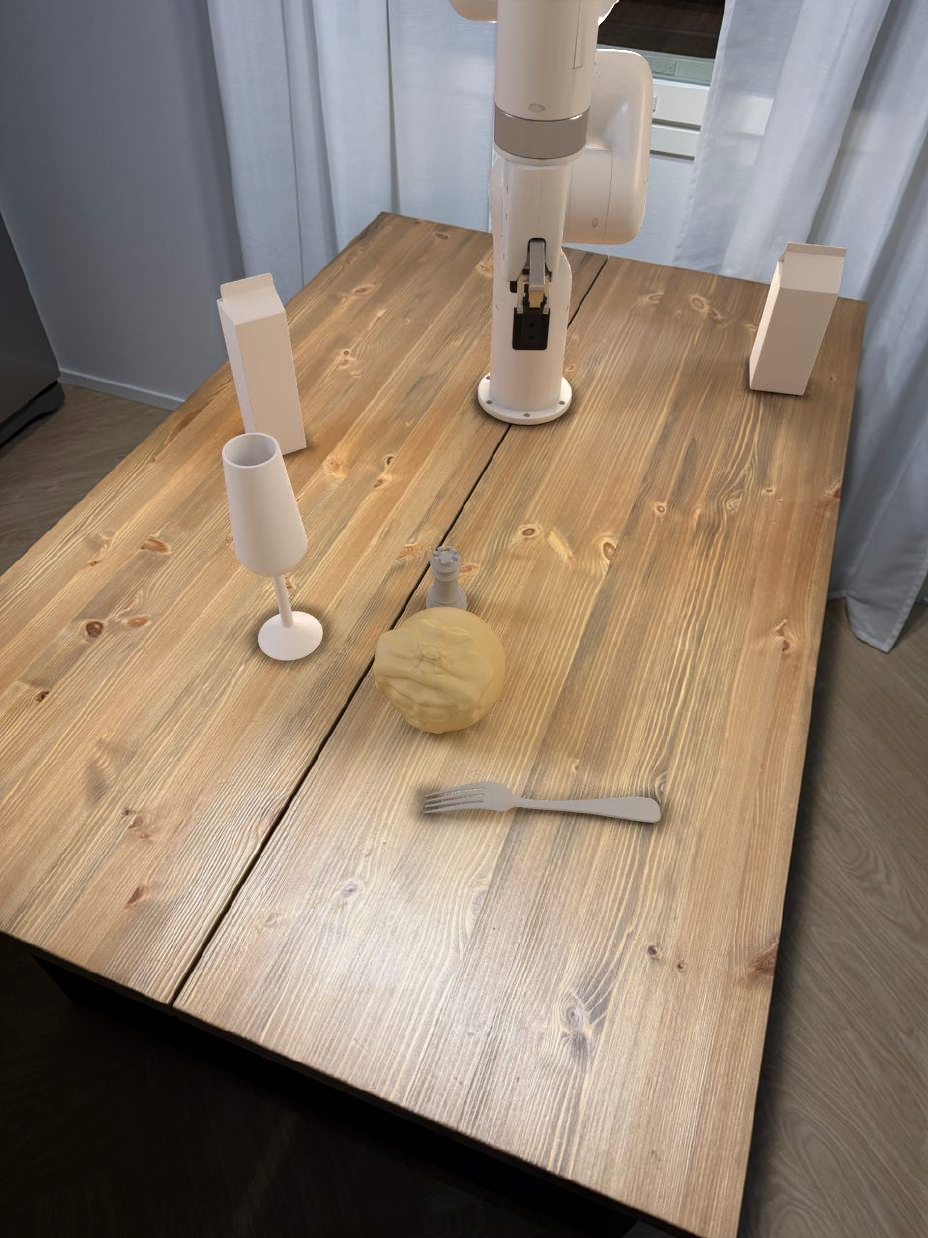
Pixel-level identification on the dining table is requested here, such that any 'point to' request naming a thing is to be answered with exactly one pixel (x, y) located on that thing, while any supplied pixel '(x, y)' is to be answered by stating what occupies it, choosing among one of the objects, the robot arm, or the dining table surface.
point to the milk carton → (795, 317)
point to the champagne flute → (269, 536)
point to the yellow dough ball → (441, 669)
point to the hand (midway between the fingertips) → (527, 319)
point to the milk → (262, 360)
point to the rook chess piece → (446, 580)
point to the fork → (547, 803)
